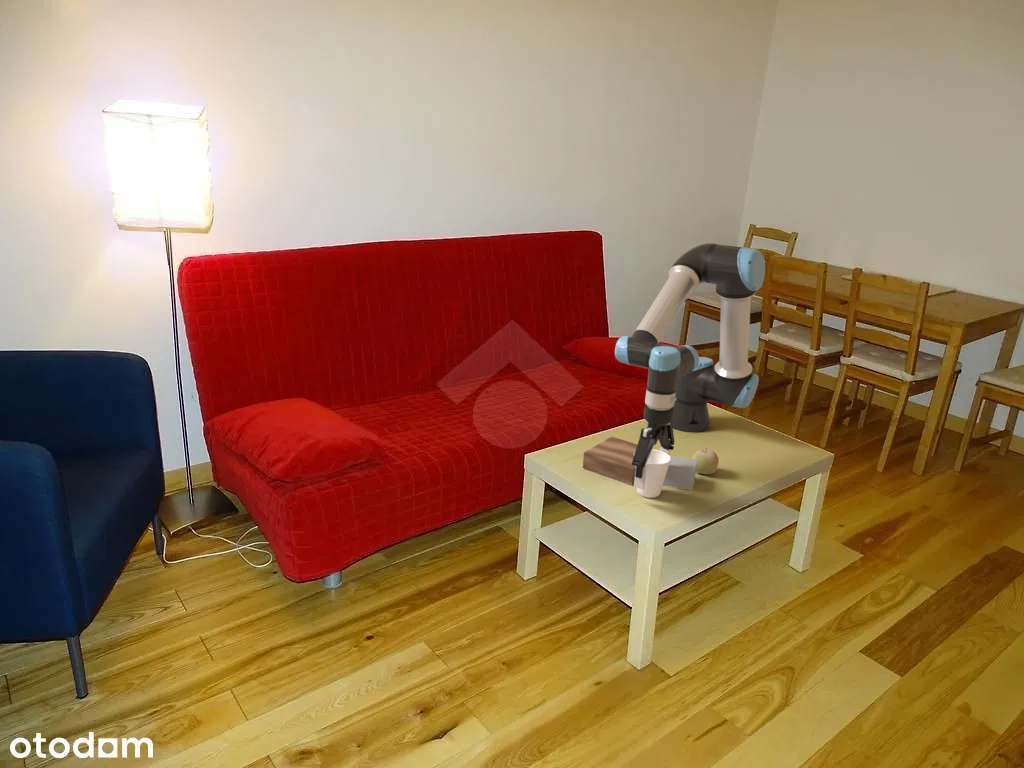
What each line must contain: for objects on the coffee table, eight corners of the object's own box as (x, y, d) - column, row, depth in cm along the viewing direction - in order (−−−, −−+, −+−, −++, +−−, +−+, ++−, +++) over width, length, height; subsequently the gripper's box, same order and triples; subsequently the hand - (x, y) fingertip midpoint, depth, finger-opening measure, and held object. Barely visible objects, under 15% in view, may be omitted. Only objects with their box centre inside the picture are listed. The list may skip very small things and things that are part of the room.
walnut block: (610, 451, 220) (611, 436, 218) (657, 466, 211) (659, 451, 209) (582, 468, 208) (583, 452, 206) (631, 485, 199) (633, 469, 197)
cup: (622, 490, 196) (626, 453, 192) (648, 481, 201) (652, 446, 198) (648, 505, 188) (653, 467, 185) (674, 496, 194) (679, 459, 190)
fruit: (709, 480, 204) (713, 454, 201) (686, 472, 208) (689, 447, 206) (721, 472, 209) (725, 447, 206) (699, 464, 214) (702, 439, 211)
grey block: (666, 474, 207) (669, 455, 205) (694, 479, 204) (697, 460, 202) (662, 485, 200) (665, 466, 198) (691, 491, 197) (694, 471, 195)
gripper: (650, 422, 175) (641, 500, 182) (692, 397, 194) (683, 468, 200) (623, 414, 179) (615, 490, 186) (667, 390, 198) (659, 460, 205)
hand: (650, 479), depth 193 cm, fingers open, 13 cm apart
